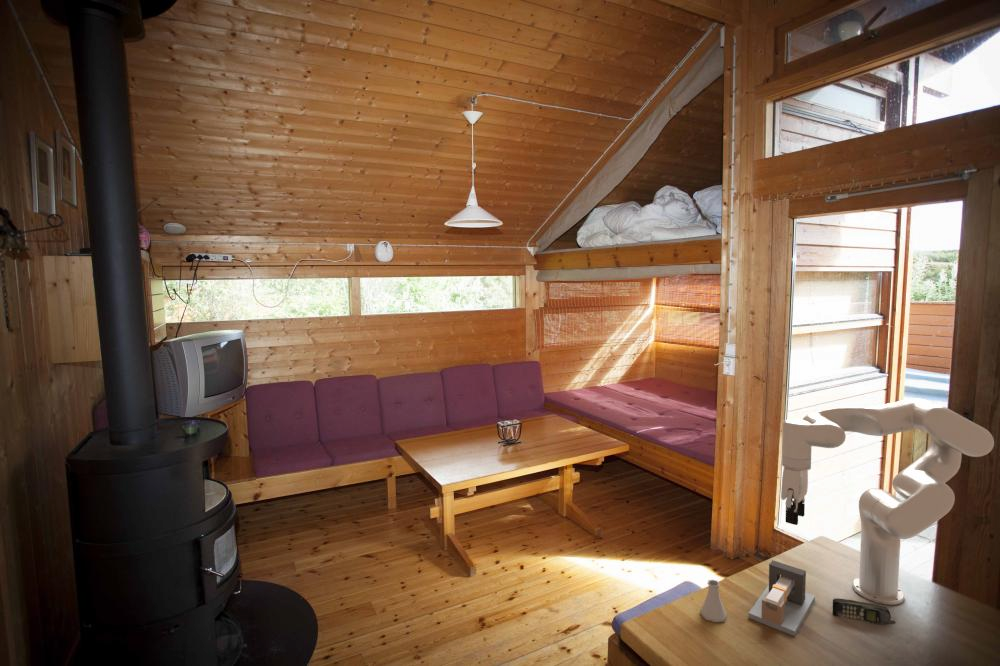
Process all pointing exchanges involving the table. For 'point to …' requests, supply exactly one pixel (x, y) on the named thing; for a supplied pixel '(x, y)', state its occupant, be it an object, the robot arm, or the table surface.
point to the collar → (792, 573)
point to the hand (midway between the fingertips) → (795, 518)
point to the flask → (713, 604)
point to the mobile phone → (861, 611)
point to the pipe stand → (781, 607)
